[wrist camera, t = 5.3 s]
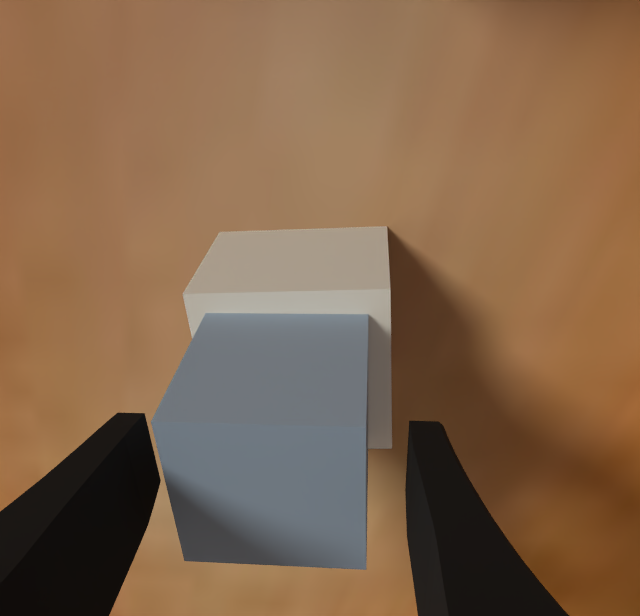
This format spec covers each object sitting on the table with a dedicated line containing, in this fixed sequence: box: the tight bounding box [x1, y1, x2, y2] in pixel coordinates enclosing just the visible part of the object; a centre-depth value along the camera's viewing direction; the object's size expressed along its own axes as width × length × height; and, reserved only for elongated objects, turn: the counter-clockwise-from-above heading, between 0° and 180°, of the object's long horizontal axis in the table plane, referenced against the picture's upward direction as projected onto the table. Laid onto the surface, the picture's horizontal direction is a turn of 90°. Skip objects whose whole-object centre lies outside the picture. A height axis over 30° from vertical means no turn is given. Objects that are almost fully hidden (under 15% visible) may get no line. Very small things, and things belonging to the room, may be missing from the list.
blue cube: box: [151, 313, 368, 570], centre depth 13 cm, size 4×4×4 cm
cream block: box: [183, 226, 392, 449], centre depth 17 cm, size 5×5×4 cm
